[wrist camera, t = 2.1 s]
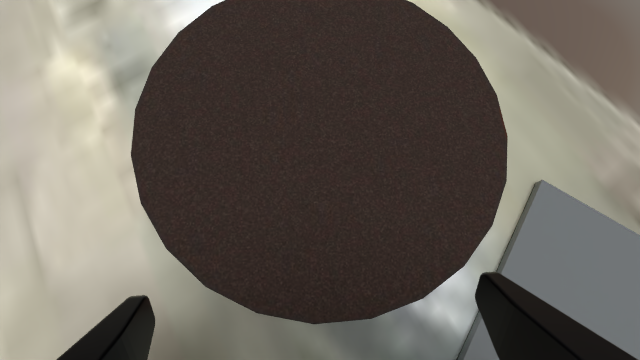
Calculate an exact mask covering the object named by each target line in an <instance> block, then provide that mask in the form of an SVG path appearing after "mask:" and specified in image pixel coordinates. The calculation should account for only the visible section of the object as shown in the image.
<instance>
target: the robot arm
mask: <svg viewBox="0 0 640 360" xmlns="http://www.w3.org/2000/svg"><path fill="white" fill-rule="evenodd" d="M475 300H476V303H477V306H478V308H479V311H480V314H481V316H482V319H483V321H484V324H485V326H486V329H487V331H488V334H489V336H490V339H491V341H492V344H493V347H494V349H495V351H496V354H497V356H498V358H499V360H638V359H637V358H635V357H633V356H632V355H630V354H629V353H627V352H625V351H624V350H622V349H621V348H619V347H617V346H616V345H614V344H613V343H611V342H609V341H608V340H606V339H604V338H603V337H601V336H600V335H598V334H596V333H595V332H593V331H592V330H590V329H588V328H587V327H585V326H584V325H582V324H580V323H579V322H577V321H576V320H574V319H572V318H571V317H569V316H568V315H566V314H564V313H563V312H561V311H560V310H558V309H556V308H555V307H553V306H551V305H550V304H548V303H547V302H545V301H543V300H542V299H540V298H539V297H537V296H535V295H534V294H532V293H531V292H529V291H527V290H526V289H524V288H523V287H521V286H519V285H518V284H516V283H515V282H513V281H511V280H510V279H508V278H507V277H505V276H503V275H502V274H500V273H498V272H485V273H482V274H481V276H480V279H479V282H478V286H477V289H476V293H475ZM154 328H155V316H154V313H153V310H152V307H151V303H150V300H149V298H148V297H147V296H145V295H142V296H131V297H129V298H127V299H126V300H125V301H124V302H123V303H122V304H120V305H119V306H118V307H117V308H116V309H115V310H113V311H112V312H111V313H110V314H109V315H108V316H106V317H105V318H104V319H103V320H102V321H101V322H100V323H98V324H97V325H96V326H95V327H94V328H93V329H91V330H90V331H89V332H88V333H87V334H86V335H84V336H83V337H82V338H81V339H80V340H79V341H78V342H76V343H75V344H74V345H73V346H72V347H71V348H69V349H68V350H67V351H66V352H65V353H64V354H62V355H61V356H60V357H59V358H58V359H57V360H147V358H148V354H149V349H150V345H151V341H152V336H153V332H154Z"/></svg>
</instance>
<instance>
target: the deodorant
mask: <svg viewBox="0 0 640 360" xmlns="http://www.w3.org/2000/svg"><path fill="white" fill-rule="evenodd" d="M131 158H132V163H133V168H134V172H135V177H136V182H137V187H138V192H139V197H140V201H141V204H142V206H143V208H144V210H145V211H146V213H147V215H148V217H149V219H150V220H151V222H152V224H153V226H154V228H155V229H156V231H157V233H158V235H159V237H160V238H161V240H162V242H163V244H164V246H165V247H166V249H167V250H168V251H169V252H170V253H171V254H172V255H173V256H174V257H175V258H177V259H178V260H179V261H180V262H181V263H182V264H183V265H184V266H185V267H186V268H187V269H188V270H189V271H190V272H191V273H192V274H193V275H194V276H195V277H196V278H197V279H198V280H199V281H200V282H201V283H202V284H203V285H204V286H206V287H207V288H209V289H211V290H213V291H215V292H217V293H219V294H221V295H223V296H225V297H227V298H228V299H230V300H232V301H234V302H236V303H238V304H240V305H242V306H244V307H246V308H248V309H250V310H252V311H254V312H256V313H259V314H264V315H269V316H274V317H280V318H285V319H290V320H295V321H300V322H306V323H311V324H321V323H331V322H342V321H353V320H363V319H372V318H374V317H377V316H380V315H382V314H385V313H387V312H390V311H392V310H395V309H397V308H400V307H402V306H405V305H408V304H410V303H413V302H415V301H418V300H420V299H423V298H424V297H425V296H427V295H428V294H429V293H431V292H432V291H433V290H434V289H436V288H437V287H438V286H439V285H441V284H442V283H443V282H445V281H446V280H447V279H448V278H450V277H451V276H452V275H453V274H455V273H456V272H457V271H458V270H460V269H461V268H462V267H464V266H465V264H466V263H467V261H468V260H469V258H470V257H471V255H472V254H473V253H474V251H475V250H476V248H477V247H478V245H479V244H480V242H481V241H482V240H483V238H484V237H485V235H486V234H487V232H488V231H489V229H490V228H491V227H492V225H493V222H494V218H495V215H496V212H497V209H498V206H499V203H500V199H501V196H502V193H503V190H504V187H505V184H506V176H507V133H506V129H505V125H504V121H503V118H502V114H501V110H500V106H499V102H498V98H497V95H496V93H495V91H494V89H493V87H492V86H491V84H490V82H489V80H488V78H487V77H486V75H485V73H484V71H483V69H482V68H481V66H480V64H479V62H478V61H477V59H476V57H475V56H474V55H473V54H472V53H471V52H470V51H469V50H468V49H467V48H466V46H465V45H464V44H463V43H462V42H461V41H460V40H459V39H458V38H457V37H456V36H455V35H454V34H453V32H452V31H451V30H450V29H449V28H448V27H447V26H445V25H444V24H443V23H441V22H440V21H438V20H437V19H435V18H434V17H432V16H431V15H430V14H428V13H427V12H425V11H424V10H422V9H421V8H419V7H418V6H416V5H415V4H414V3H412V2H409V1H407V0H225V1H222V2H220V3H218V4H216V5H214V6H212V7H210V8H209V9H208V10H207V11H205V12H204V13H203V14H202V15H200V16H199V17H198V18H197V19H195V20H194V21H193V22H191V23H190V24H189V25H188V26H186V27H185V28H184V29H183V30H181V31H180V32H179V33H178V34H177V35H176V37H175V38H174V39H173V40H172V42H171V43H170V44H169V46H168V47H167V48H166V50H165V51H164V52H163V54H162V55H161V56H160V58H159V59H158V60H157V61H156V63H155V64H154V65H153V67H152V68H151V71H150V74H149V76H148V79H147V81H146V84H145V86H144V89H143V91H142V94H141V96H140V99H139V101H138V104H137V106H136V109H135V118H134V129H133V139H132V150H131Z"/></svg>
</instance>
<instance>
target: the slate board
mask: <svg viewBox="0 0 640 360" xmlns="http://www.w3.org/2000/svg"><path fill="white" fill-rule="evenodd" d="M497 272H498V273H500V274H502V275H503V276H505V277H507V278H508V279H510V280H511V281H513V282H515V283H516V284H518V285H519V286H521V287H523V288H524V289H526V290H527V291H529V292H531V293H532V294H534V295H535V296H537V297H539V298H540V299H542V300H543V301H545V302H547V303H548V304H550V305H551V306H553V307H555V308H556V309H558V310H560V311H561V312H563V313H564V314H566V315H568V316H569V317H571V318H572V319H574V320H576V321H577V322H579V323H580V324H582V325H584V326H585V327H587V328H588V329H590V330H592V331H593V332H595V333H596V334H598V335H600V336H601V337H603V338H604V339H606V340H608V341H609V342H611V343H613V344H614V345H616V346H617V347H619V348H621V349H622V350H624V351H625V352H627V353H629V354H630V355H632V356H633V357H635V358H637V359H638V360H640V235H638V234H637V233H635V232H633V231H631V230H630V229H628V228H626V227H624V226H623V225H621V224H619V223H617V222H616V221H614V220H612V219H610V218H609V217H607V216H605V215H603V214H602V213H600V212H598V211H596V210H595V209H593V208H591V207H589V206H588V205H586V204H584V203H582V202H581V201H579V200H577V199H575V198H574V197H572V196H570V195H568V194H567V193H565V192H563V191H561V190H560V189H558V188H556V187H554V186H553V185H551V184H549V183H547V182H546V181H544V180H541V181H539V182H537V183H536V184H535V186H534V189H533V191H532V193H531V195H530V198H529V200H528V202H527V204H526V207H525V209H524V211H523V213H522V216H521V218H520V220H519V222H518V225H517V227H516V229H515V231H514V234H513V236H512V238H511V240H510V243H509V245H508V247H507V249H506V252H505V254H504V256H503V258H502V261H501V263H500V265H499V267H498V270H497ZM457 360H499V358H498V356H497V354H496V351H495V349H494V347H493V344H492V341H491V339H490V336H489V334H488V331H487V329H486V326H485V324H484V321H483V319H482V316H481V314H480V311H479V312H478V314H477V317H476V319H475V321H474V323H473V326H472V328H471V330H470V332H469V335H468V337H467V339H466V341H465V344H464V346H463V348H462V350H461V353H460V355H459V357H458V359H457Z"/></svg>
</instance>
